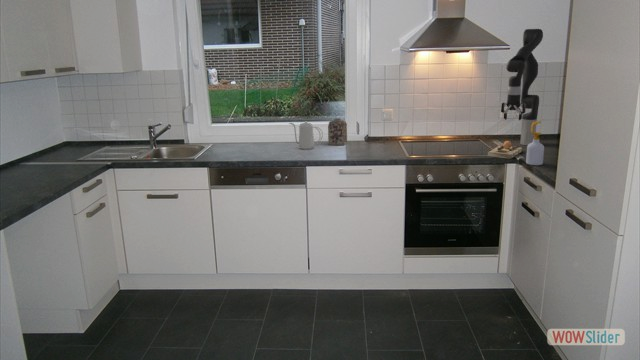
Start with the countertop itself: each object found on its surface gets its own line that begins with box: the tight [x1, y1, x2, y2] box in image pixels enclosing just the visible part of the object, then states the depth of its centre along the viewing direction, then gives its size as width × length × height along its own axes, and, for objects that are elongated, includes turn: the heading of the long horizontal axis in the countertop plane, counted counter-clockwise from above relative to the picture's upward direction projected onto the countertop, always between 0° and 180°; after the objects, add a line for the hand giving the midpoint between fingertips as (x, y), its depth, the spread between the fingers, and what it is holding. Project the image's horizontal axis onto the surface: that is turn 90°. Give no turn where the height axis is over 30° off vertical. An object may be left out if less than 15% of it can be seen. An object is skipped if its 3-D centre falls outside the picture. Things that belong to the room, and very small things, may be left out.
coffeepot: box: [288, 120, 324, 150], centre depth 358 cm, size 11×25×19 cm, turn 68°
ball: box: [502, 140, 513, 149], centre depth 328 cm, size 5×5×5 cm
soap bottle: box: [525, 120, 545, 166], centre depth 297 cm, size 9×9×25 cm
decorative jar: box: [327, 117, 348, 146], centre depth 370 cm, size 12×12×18 cm
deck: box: [487, 144, 523, 160], centre depth 326 cm, size 24×14×4 cm, turn 144°
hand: (512, 119), depth 325 cm, fingers open, 8 cm apart
